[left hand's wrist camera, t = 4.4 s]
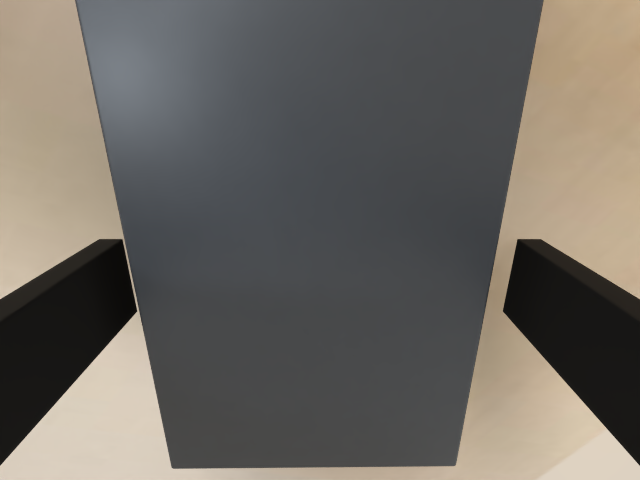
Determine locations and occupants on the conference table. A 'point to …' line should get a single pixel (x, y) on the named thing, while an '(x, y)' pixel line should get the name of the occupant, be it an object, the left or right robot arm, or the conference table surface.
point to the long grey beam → (311, 214)
